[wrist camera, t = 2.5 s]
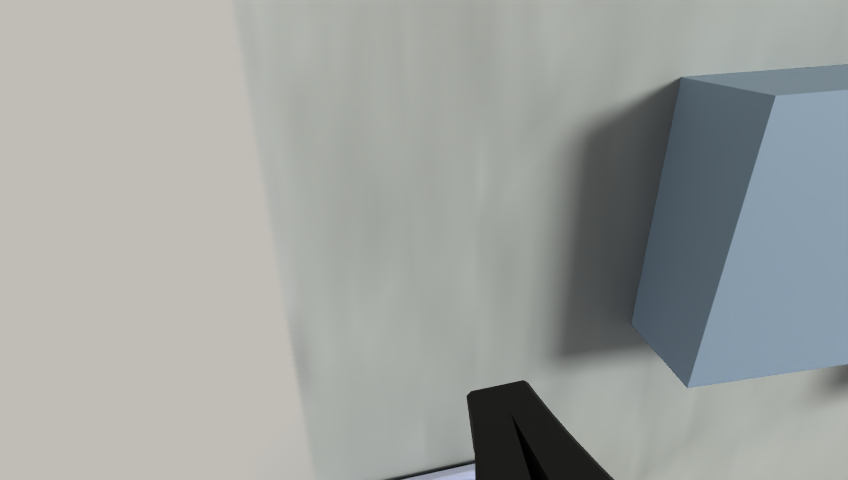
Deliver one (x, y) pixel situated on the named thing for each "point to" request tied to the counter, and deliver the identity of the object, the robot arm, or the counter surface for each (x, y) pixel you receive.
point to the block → (751, 228)
